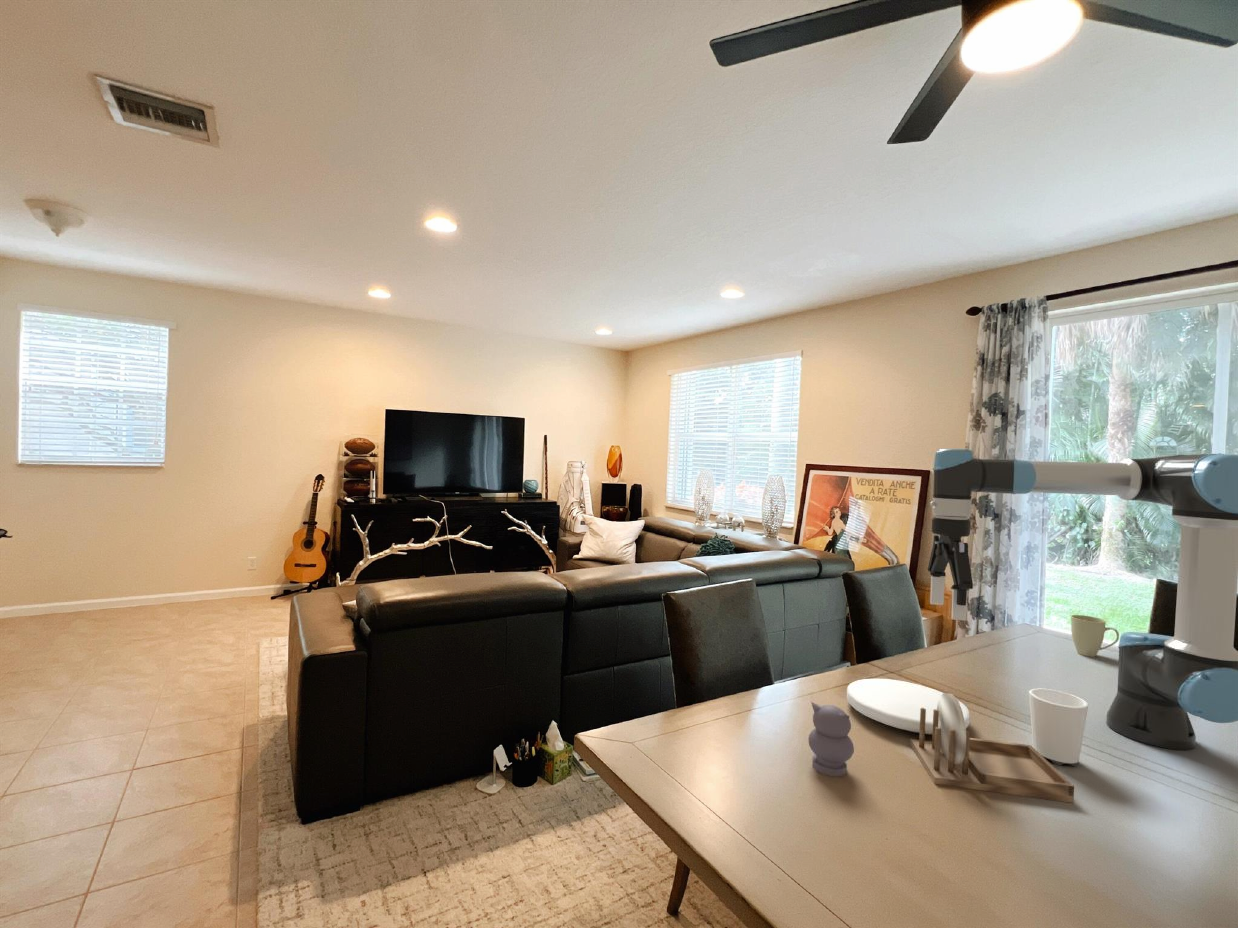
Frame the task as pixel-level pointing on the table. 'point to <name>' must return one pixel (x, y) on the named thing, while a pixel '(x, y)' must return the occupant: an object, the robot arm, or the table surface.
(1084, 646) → the mug
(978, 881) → the table surface
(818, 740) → the cat figurine
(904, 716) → the plate
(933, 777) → the rack
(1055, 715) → the cup
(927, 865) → the table surface
